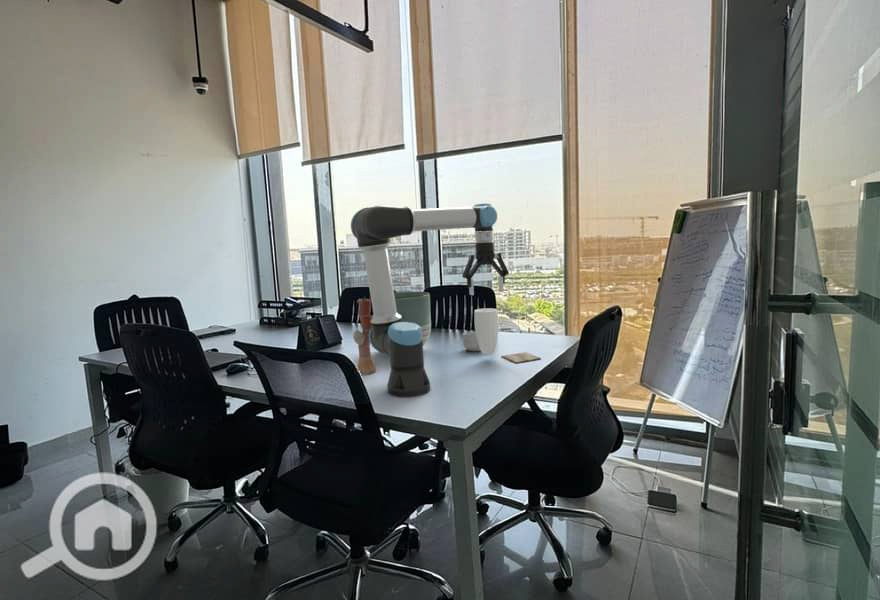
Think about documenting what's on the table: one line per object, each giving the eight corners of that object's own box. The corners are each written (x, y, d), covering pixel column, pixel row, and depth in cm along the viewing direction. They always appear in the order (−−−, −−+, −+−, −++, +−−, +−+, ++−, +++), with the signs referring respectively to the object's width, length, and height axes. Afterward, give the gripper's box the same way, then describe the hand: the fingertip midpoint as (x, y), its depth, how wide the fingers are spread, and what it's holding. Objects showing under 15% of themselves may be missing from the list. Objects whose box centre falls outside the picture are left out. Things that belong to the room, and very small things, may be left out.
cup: (493, 364, 197) (491, 312, 194) (471, 362, 202) (468, 311, 200) (504, 358, 205) (502, 308, 203) (482, 356, 211) (480, 307, 208)
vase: (356, 375, 191) (350, 301, 187) (355, 371, 198) (349, 299, 194) (383, 372, 193) (377, 298, 189) (381, 368, 200) (375, 296, 196)
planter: (408, 342, 246) (405, 290, 242) (444, 350, 226) (441, 293, 222) (365, 353, 228) (360, 297, 224) (399, 362, 208) (395, 300, 205)
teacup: (461, 348, 228) (461, 331, 227) (484, 346, 229) (483, 330, 228) (466, 355, 214) (465, 337, 213) (490, 353, 215) (489, 335, 214)
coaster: (515, 363, 196) (515, 362, 196) (501, 357, 207) (501, 355, 207) (540, 359, 201) (540, 358, 200) (525, 353, 212) (525, 352, 212)
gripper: (460, 243, 189) (462, 297, 192) (515, 240, 198) (517, 291, 201) (453, 243, 196) (455, 295, 199) (507, 240, 205) (508, 290, 208)
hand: (486, 293), depth 200 cm, fingers open, 13 cm apart
